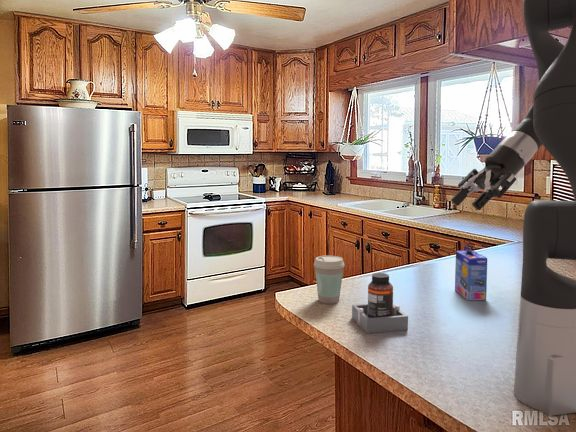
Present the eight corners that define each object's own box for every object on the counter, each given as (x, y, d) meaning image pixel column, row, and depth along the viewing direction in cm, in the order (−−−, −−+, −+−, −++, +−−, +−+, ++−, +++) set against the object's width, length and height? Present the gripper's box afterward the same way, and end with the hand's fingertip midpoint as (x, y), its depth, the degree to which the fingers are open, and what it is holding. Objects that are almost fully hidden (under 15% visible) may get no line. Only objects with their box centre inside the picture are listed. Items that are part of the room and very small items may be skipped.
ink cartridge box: (453, 290, 133) (455, 242, 131) (471, 289, 134) (473, 242, 132) (467, 300, 124) (469, 249, 122) (486, 300, 124) (489, 249, 122)
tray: (408, 329, 104) (409, 313, 103) (365, 333, 102) (366, 316, 101) (390, 314, 114) (390, 299, 113) (351, 317, 112) (351, 302, 111)
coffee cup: (320, 293, 130) (320, 253, 129) (348, 297, 127) (348, 256, 125) (308, 302, 123) (308, 260, 121) (338, 307, 119) (338, 263, 117)
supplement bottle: (384, 314, 111) (385, 270, 110) (397, 323, 106) (398, 276, 104) (362, 317, 109) (363, 272, 108) (375, 326, 104) (376, 279, 102)
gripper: (482, 144, 110) (438, 191, 109) (523, 143, 96) (472, 197, 95) (500, 165, 112) (456, 212, 111) (543, 167, 98) (493, 220, 97)
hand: (464, 205), depth 103 cm, fingers open, 8 cm apart
